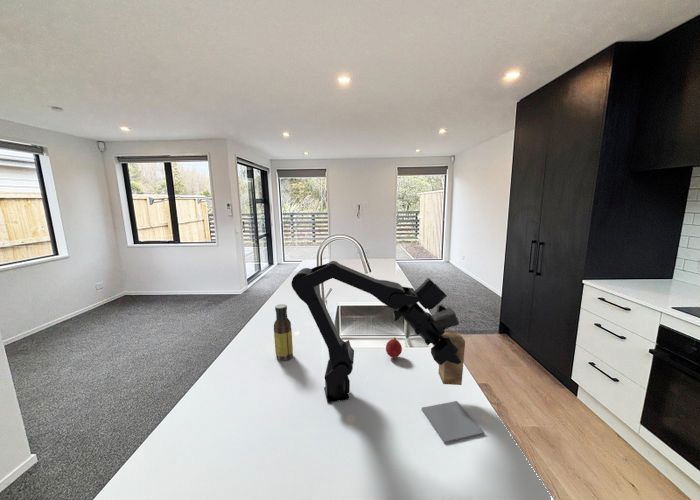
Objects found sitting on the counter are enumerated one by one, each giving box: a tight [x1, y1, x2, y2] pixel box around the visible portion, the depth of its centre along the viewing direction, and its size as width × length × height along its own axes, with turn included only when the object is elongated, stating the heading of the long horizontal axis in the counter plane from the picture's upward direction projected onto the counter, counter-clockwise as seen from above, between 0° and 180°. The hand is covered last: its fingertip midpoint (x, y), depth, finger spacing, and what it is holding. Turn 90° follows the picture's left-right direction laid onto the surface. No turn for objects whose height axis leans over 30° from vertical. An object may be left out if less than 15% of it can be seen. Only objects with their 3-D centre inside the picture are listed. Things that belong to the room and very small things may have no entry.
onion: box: [385, 336, 403, 359], centre depth 98 cm, size 6×6×8 cm
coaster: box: [421, 400, 486, 445], centre depth 70 cm, size 11×11×1 cm
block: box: [438, 331, 466, 386], centre depth 76 cm, size 5×5×13 cm
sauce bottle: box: [273, 303, 294, 362], centre depth 98 cm, size 6×6×20 cm
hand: (456, 357), depth 76 cm, fingers closed on block, 5 cm apart
